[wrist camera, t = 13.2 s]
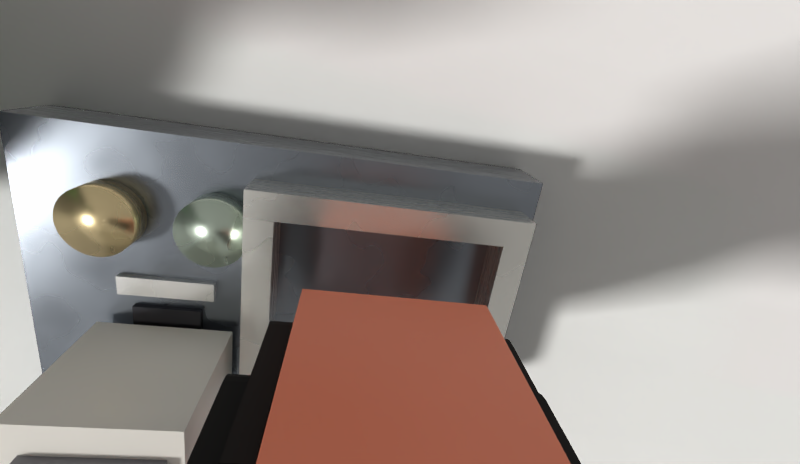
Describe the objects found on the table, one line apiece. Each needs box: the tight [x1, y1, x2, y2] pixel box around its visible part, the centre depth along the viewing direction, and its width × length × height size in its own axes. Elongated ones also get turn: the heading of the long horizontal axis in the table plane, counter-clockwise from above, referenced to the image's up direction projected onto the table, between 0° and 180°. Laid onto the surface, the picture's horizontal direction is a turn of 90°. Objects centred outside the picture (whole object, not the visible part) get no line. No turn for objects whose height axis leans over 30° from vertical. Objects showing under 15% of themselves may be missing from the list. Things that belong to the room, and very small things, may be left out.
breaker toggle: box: [0, 322, 233, 464], centre depth 12 cm, size 2×4×4 cm, turn 81°
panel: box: [0, 105, 543, 375], centre depth 16 cm, size 21×15×3 cm
